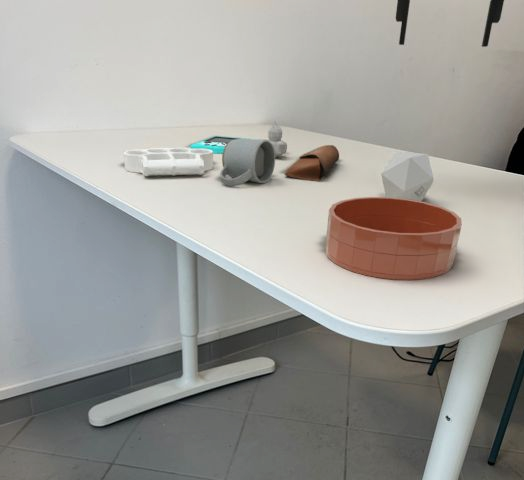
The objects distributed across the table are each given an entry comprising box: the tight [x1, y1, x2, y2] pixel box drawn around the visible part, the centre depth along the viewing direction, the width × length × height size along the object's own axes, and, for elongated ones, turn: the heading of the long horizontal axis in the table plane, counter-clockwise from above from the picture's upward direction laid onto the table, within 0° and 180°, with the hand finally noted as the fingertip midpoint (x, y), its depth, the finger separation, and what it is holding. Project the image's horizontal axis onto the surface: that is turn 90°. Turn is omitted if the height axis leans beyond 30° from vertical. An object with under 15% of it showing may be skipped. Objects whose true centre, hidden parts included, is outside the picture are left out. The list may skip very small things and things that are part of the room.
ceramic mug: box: [219, 138, 276, 187], centre depth 101 cm, size 11×8×8 cm
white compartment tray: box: [123, 147, 214, 177], centre depth 109 cm, size 3×18×15 cm
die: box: [380, 151, 434, 202], centre depth 91 cm, size 8×9×10 cm
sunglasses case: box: [284, 144, 340, 182], centre depth 112 cm, size 18×7×7 cm
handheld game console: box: [189, 135, 245, 154], centre depth 133 cm, size 10×16×1 cm, turn 162°
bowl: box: [325, 196, 463, 281], centre depth 69 cm, size 16×16×6 cm
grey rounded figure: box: [267, 120, 288, 158], centre depth 122 cm, size 5×7×8 cm
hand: (442, 45), depth 91 cm, fingers open, 13 cm apart
